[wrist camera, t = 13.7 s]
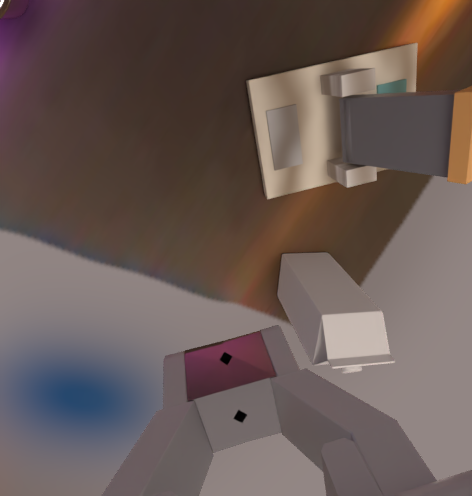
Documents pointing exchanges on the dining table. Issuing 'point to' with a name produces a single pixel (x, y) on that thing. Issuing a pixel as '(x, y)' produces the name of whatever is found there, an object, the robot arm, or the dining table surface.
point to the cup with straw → (12, 8)
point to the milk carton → (331, 313)
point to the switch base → (319, 117)
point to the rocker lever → (410, 132)
